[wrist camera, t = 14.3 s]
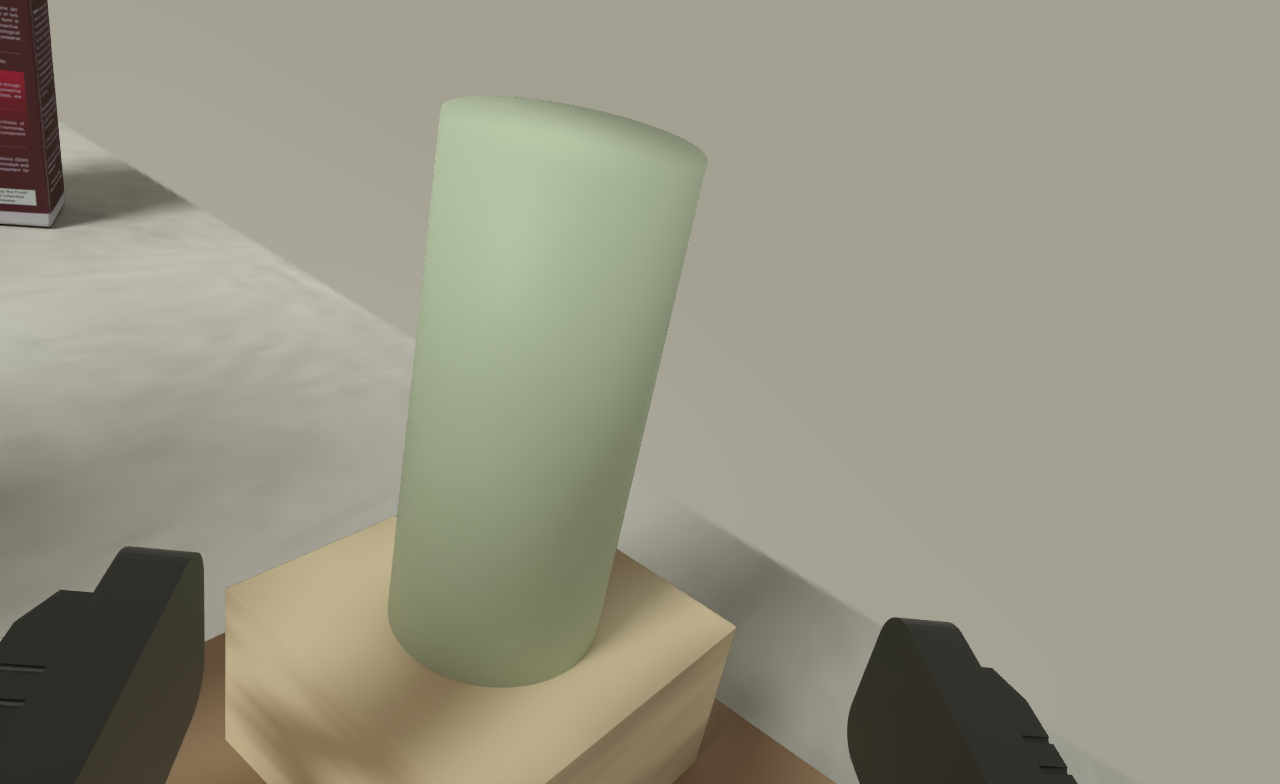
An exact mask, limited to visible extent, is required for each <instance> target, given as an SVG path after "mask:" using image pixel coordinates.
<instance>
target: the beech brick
mask: <svg viewBox="0 0 1280 784" xmlns="http://www.w3.org/2000/svg"><path fill="white" fill-rule="evenodd" d="M396 523H397V515H396V516H394V517H392V518H389V519H387V520H385V521H382V522H380V523H378V524H375V525H373V526H371V527H368V528H366V529H364V530H361V531H359V532H357V533H354V534H352V535H350V536H347V537H345V538H343V539H340V540H338V541H336V542H333V543H331V544H329V545H326V546H324V547H322V548H319V549H317V550H315V551H312V552H310V553H308V554H306V555H303V556H301V557H299V558H296V559H294V560H292V561H289V562H287V563H285V564H282V565H280V566H278V567H275V568H273V569H271V570H268V571H266V572H264V573H261V574H259V575H257V576H254V577H252V578H250V579H247V580H245V581H243V582H240V583H238V584H236V585H233V586H231V587H229V588H226V628H225V740H226V741H227V742H228V743H229V744H230V745H231V746H232V747H233V748H234V749H235V750H236V751H237V752H238V753H239V754H240V755H241V756H242V758H243V759H244V760H245V761H246V762H247V763H248V764H249V765H250V766H251V767H252V768H253V769H254V770H255V771H256V772H257V773H258V774H259V776H260V777H261V778H262V779H263V780H264V781H265V782H266V783H267V784H672V783H673V782H674V781H675V780H676V779H677V778H678V777H679V776H680V775H681V774H682V773H683V772H684V771H685V770H686V769H688V768H689V767H690V766H691V765H692V764H693V763H694V762H695V760H696V757H697V754H698V751H699V748H700V744H701V741H702V738H703V735H704V732H705V728H706V725H707V722H708V719H709V715H710V712H711V709H712V706H713V703H714V699H715V696H716V693H717V690H718V686H719V683H720V680H721V677H722V674H723V670H724V667H725V664H726V661H727V658H728V654H729V651H730V648H731V645H732V641H733V638H734V635H735V632H736V629H737V627H736V626H735V625H733V624H731V623H730V622H728V621H727V620H725V619H724V618H722V617H721V616H719V615H718V614H716V613H715V612H713V611H711V610H710V609H708V608H707V607H705V606H704V605H702V604H701V603H699V602H698V601H696V600H695V599H693V598H691V597H690V596H688V595H687V594H685V593H684V592H682V591H681V590H679V589H678V588H676V587H675V586H673V585H672V584H670V583H668V582H667V581H665V580H664V579H662V578H661V577H659V576H658V575H656V574H655V573H653V572H652V571H650V570H648V569H647V568H645V567H644V566H642V565H641V564H639V563H638V562H636V561H635V560H633V559H632V558H630V557H629V556H627V555H625V554H624V553H622V552H621V551H619V550H618V549H616V552H615V556H614V561H613V565H612V569H611V573H610V578H609V582H608V586H607V590H606V595H605V599H604V603H603V607H602V612H601V616H600V620H599V624H598V629H597V633H596V636H595V639H594V642H593V644H592V646H591V648H590V650H589V651H588V653H587V654H586V655H585V656H584V658H583V659H582V660H581V661H580V662H579V663H577V664H576V665H575V666H574V667H573V668H571V669H569V670H568V671H566V672H565V673H563V674H561V675H559V676H557V677H555V678H552V679H550V680H547V681H544V682H541V683H537V684H532V685H527V686H519V687H486V686H478V685H473V684H467V683H463V682H460V681H457V680H453V679H450V678H448V677H445V676H443V675H441V674H438V673H436V672H434V671H432V670H431V669H429V668H427V667H425V666H424V665H422V664H421V663H420V662H418V661H417V660H415V659H414V658H413V657H412V656H411V655H410V654H409V653H408V652H406V651H405V649H404V648H403V647H402V646H401V645H400V643H399V642H398V641H397V639H396V637H395V635H394V634H393V632H392V629H391V626H390V624H389V619H388V598H389V589H390V579H391V570H392V561H393V551H394V542H395V533H396Z"/></svg>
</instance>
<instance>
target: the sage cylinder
mask: <svg viewBox="0 0 1280 784" xmlns="http://www.w3.org/2000/svg"><path fill="white" fill-rule="evenodd" d="M706 164H707V157H706V155H705V154H704V153H703V152H702V151H701V150H700V149H699V148H697V147H696V146H695V145H693V144H691V143H690V142H688V141H686V140H684V139H682V138H680V137H678V136H676V135H674V134H671V133H669V132H667V131H664V130H661V129H659V128H656V127H653V126H650V125H647V124H644V123H641V122H638V121H635V120H632V119H628V118H625V117H621V116H617V115H614V114H610V113H605V112H602V111H598V110H593V109H588V108H584V107H579V106H574V105H568V104H563V103H557V102H551V101H544V100H537V99H528V98H518V97H505V96H470V97H461V98H456V99H452V100H449V101H447V102H445V103H444V104H443V105H442V107H441V113H440V122H439V131H438V141H437V149H436V160H435V168H434V178H433V188H432V196H431V206H430V215H429V225H428V234H427V243H426V252H425V262H424V271H423V281H422V290H421V299H420V308H419V318H418V327H417V336H416V346H415V355H414V364H413V374H412V383H411V392H410V402H409V411H408V421H407V430H406V439H405V449H404V458H403V467H402V477H401V486H400V495H399V505H398V514H397V523H396V533H395V542H394V551H393V561H392V570H391V579H390V589H389V598H388V619H389V624H390V626H391V629H392V632H393V634H394V635H395V637H396V639H397V641H398V642H399V643H400V645H401V646H402V647H403V648H404V649H405V651H406V652H408V653H409V654H410V655H411V656H412V657H413V658H414V659H415V660H417V661H418V662H420V663H421V664H422V665H424V666H425V667H427V668H429V669H431V670H432V671H434V672H436V673H438V674H441V675H443V676H445V677H448V678H450V679H453V680H457V681H460V682H463V683H467V684H473V685H478V686H486V687H519V686H527V685H532V684H537V683H541V682H544V681H547V680H550V679H552V678H555V677H557V676H559V675H561V674H563V673H565V672H566V671H568V670H569V669H571V668H573V667H574V666H575V665H576V664H577V663H579V662H580V661H581V660H582V659H583V658H584V656H585V655H586V654H587V653H588V651H589V650H590V648H591V646H592V644H593V642H594V639H595V636H596V633H597V629H598V624H599V620H600V616H601V612H602V607H603V603H604V599H605V595H606V590H607V586H608V582H609V578H610V573H611V569H612V565H613V561H614V556H615V552H616V548H617V544H618V539H619V535H620V531H621V527H622V522H623V518H624V514H625V509H626V505H627V501H628V497H629V492H630V488H631V484H632V480H633V475H634V471H635V466H636V463H637V458H638V454H639V450H640V446H641V441H642V437H643V433H644V429H645V424H646V420H647V415H648V412H649V407H650V403H651V399H652V394H653V390H654V386H655V382H656V378H657V373H658V369H659V365H660V361H661V356H662V352H663V348H664V344H665V339H666V335H667V331H668V327H669V322H670V318H671V313H672V309H673V305H674V301H675V297H676V292H677V288H678V284H679V279H680V275H681V271H682V267H683V263H684V258H685V254H686V250H687V245H688V241H689V237H690V233H691V229H692V224H693V220H694V216H695V212H696V207H697V203H698V199H699V194H700V190H701V185H702V182H703V177H704V173H705V169H706Z"/></svg>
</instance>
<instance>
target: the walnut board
mask: <svg viewBox="0 0 1280 784" xmlns="http://www.w3.org/2000/svg"><path fill="white" fill-rule="evenodd" d="M204 644H205V660H204V672H203V679H202V685H201V690H200V694H199V698H198V702H197V706H196V709H195V712H194V715H193V718H192V720H191V723H190V725H189V727H188V730H187V732H186V735H185V737H184V740H183V742H182V745H181V747H180V749H179V752H178V754H177V757H176V759H175V762H174V764H173V766H172V769H171V771H170V774H169V776H168V779H167V781H166V783H165V784H267V783H266V782H265V781H264V780H263V779H262V778H261V777H260V776H259V774H258V773H257V772H256V771H255V770H254V769H253V768H252V767H251V766H250V765H249V764H248V763H247V762H246V761H245V760H244V759H243V758H242V756H241V755H240V754H239V753H238V752H237V751H236V750H235V749H234V748H233V747H232V746H231V745H230V744H229V743H228V742H227V741H226V740H225V633H223V634H221V635H219V636H217V637H214V638H212V639H210V640H208V641H206V642H204ZM672 784H836V783H834V782H833V781H831V780H830V779H828V778H827V777H826V776H824V775H823V774H821V773H820V772H819V771H817V770H816V769H814V768H813V767H811V766H810V765H809V764H807V763H806V762H804V761H803V760H802V759H800V758H799V757H797V756H796V755H794V754H793V753H792V752H790V751H789V750H787V749H786V748H784V747H783V746H782V745H780V744H779V743H777V742H776V741H775V740H773V739H772V738H770V737H769V736H767V735H766V734H765V733H763V732H762V731H760V730H759V729H758V728H756V727H755V726H753V725H752V724H750V723H749V722H748V721H746V720H745V719H743V718H742V717H741V716H739V715H738V714H736V713H735V712H733V711H732V710H731V709H729V708H728V707H726V706H725V705H724V704H722V703H721V702H719V701H718V700H716V699H714V703H713V706H712V709H711V712H710V715H709V719H708V722H707V725H706V728H705V732H704V735H703V738H702V741H701V744H700V748H699V751H698V754H697V757H696V760H695V762H694V763H693V764H692V765H691V766H690V767H689V768H688V769H686V770H685V771H684V772H683V773H682V774H681V775H680V776H679V777H678V778H677V779H676V780H675V781H674V782H673V783H672Z"/></svg>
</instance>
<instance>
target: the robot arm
mask: <svg viewBox="0 0 1280 784" xmlns="http://www.w3.org/2000/svg"><path fill="white" fill-rule="evenodd" d="M204 660H205V644H204V568H203V560H202V556H201V555H200V553H197V552H186V551H175V550H163V549H152V548H141V547H130V546H127V547H124V548H123V549H122V550H121V551H120V552H119V553H118V554H117V556H116V557H115V559H114V560H113V562H112V563H111V565H110V567H109V568H108V570H107V571H106V573H105V575H104V576H103V578H102V579H101V581H100V583H99V584H98V586H97V587H96V589H95V591H94V592H93V593H92V592H80V591H67V590H59V591H58V592H57V593H55V594H54V595H52V596H51V597H49V598H48V599H47V600H45V601H44V602H42V603H41V604H39V605H38V606H37V607H35V608H34V609H32V610H31V611H30V612H28V613H27V614H25V615H24V616H22V617H21V618H20V619H18V620H17V621H15V622H14V623H13V625H12V626H11V628H10V629H9V630H8V632H7V633H6V635H5V636H4V637H3V639H2V640H1V642H0V784H165V783H166V781H167V779H168V776H169V774H170V771H171V769H172V766H173V764H174V762H175V759H176V757H177V754H178V752H179V749H180V747H181V745H182V742H183V740H184V737H185V735H186V732H187V730H188V727H189V725H190V723H191V720H192V718H193V715H194V712H195V709H196V706H197V702H198V698H199V694H200V690H201V685H202V679H203V672H204ZM847 738H848V747H849V753H850V757H851V760H852V763H853V766H854V769H855V772H856V774H857V777H858V780H859V782H860V784H1077V782H1076V781H1075V779H1074V777H1073V776H1072V775H1068V774H1067V766H1066V764H1065V763H1064V761H1063V759H1062V758H1061V756H1060V754H1059V753H1058V751H1057V750H1056V748H1055V746H1054V745H1053V744H1049V742H1048V738H1049V737H1048V735H1047V733H1046V732H1045V730H1044V728H1043V727H1042V725H1041V723H1040V722H1039V720H1038V719H1037V717H1036V715H1035V714H1034V712H1033V710H1032V709H1031V707H1030V706H1029V704H1028V702H1027V701H1026V700H1025V699H1024V698H1023V697H1022V696H1021V695H1020V694H1019V693H1018V692H1017V691H1016V690H1014V689H1013V687H1011V686H1010V685H1009V684H1008V683H1007V682H1006V681H1005V680H1004V679H1003V678H1002V677H1001V676H1000V675H999V674H998V673H997V672H996V671H994V669H992V668H985V667H981V666H980V664H979V662H978V661H977V659H976V657H975V655H974V654H973V652H972V650H971V649H970V647H969V645H968V643H967V642H966V640H965V638H964V636H963V635H962V633H961V632H960V630H959V629H958V628H957V627H956V626H955V625H954V624H952V623H949V622H939V621H929V620H918V619H906V618H891V619H889V620H888V621H887V622H886V623H885V624H884V626H883V627H882V630H881V632H880V634H879V637H878V639H877V642H876V644H875V647H874V649H873V652H872V654H871V657H870V659H869V662H868V664H867V667H866V669H865V672H864V675H863V677H862V680H861V682H860V685H859V687H858V690H857V692H856V695H855V697H854V700H853V702H852V705H851V708H850V712H849V717H848V727H847Z"/></svg>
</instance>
